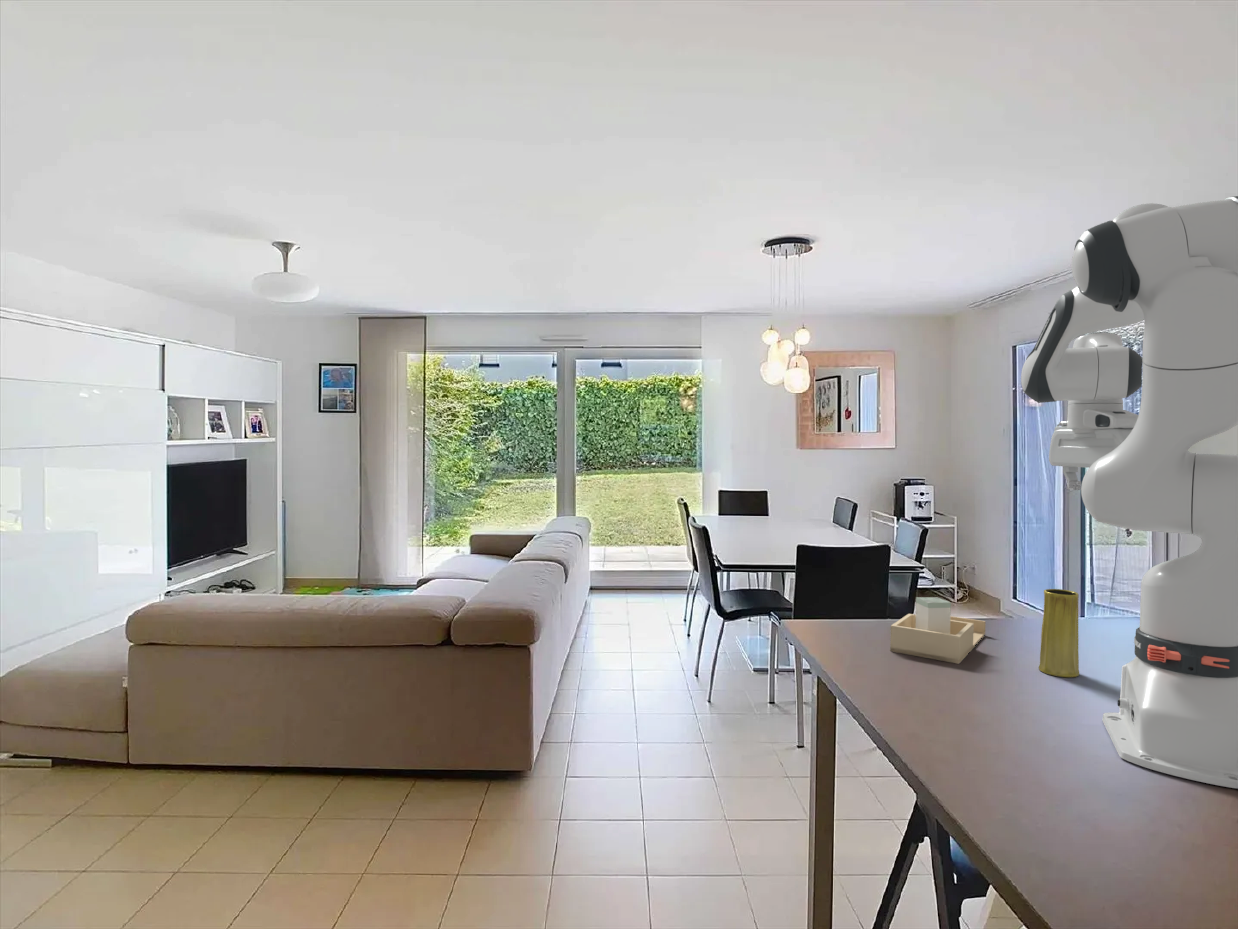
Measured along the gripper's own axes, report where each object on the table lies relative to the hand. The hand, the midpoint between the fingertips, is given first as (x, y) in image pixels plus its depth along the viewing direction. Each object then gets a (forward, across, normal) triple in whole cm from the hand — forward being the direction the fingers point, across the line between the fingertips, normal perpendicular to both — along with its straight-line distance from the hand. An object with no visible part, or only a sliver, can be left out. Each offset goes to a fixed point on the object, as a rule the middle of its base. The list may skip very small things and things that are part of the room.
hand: (1092, 491), depth 136 cm
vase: (+31, +11, -14) cm, 36 cm away
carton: (+30, -3, -30) cm, 43 cm away
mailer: (+31, -8, -26) cm, 41 cm away
